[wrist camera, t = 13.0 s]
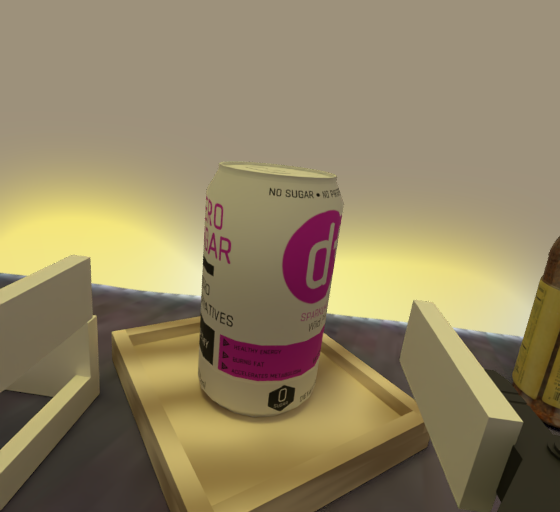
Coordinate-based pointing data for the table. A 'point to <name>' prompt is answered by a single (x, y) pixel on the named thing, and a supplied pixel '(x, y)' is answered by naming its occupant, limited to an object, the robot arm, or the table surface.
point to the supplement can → (266, 284)
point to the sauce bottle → (542, 347)
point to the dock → (51, 405)
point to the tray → (260, 428)
